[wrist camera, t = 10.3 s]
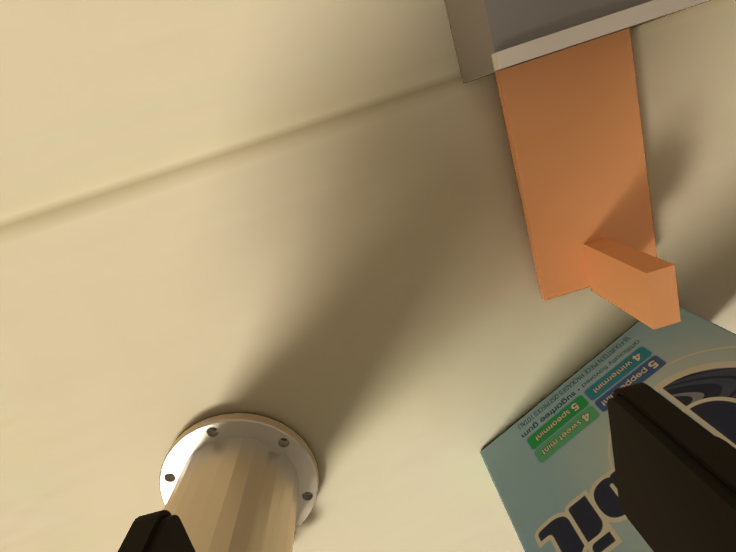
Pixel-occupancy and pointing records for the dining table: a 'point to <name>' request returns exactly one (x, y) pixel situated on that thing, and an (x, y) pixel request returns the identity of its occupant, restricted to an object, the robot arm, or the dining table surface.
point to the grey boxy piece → (540, 27)
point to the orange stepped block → (587, 177)
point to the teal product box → (606, 434)
